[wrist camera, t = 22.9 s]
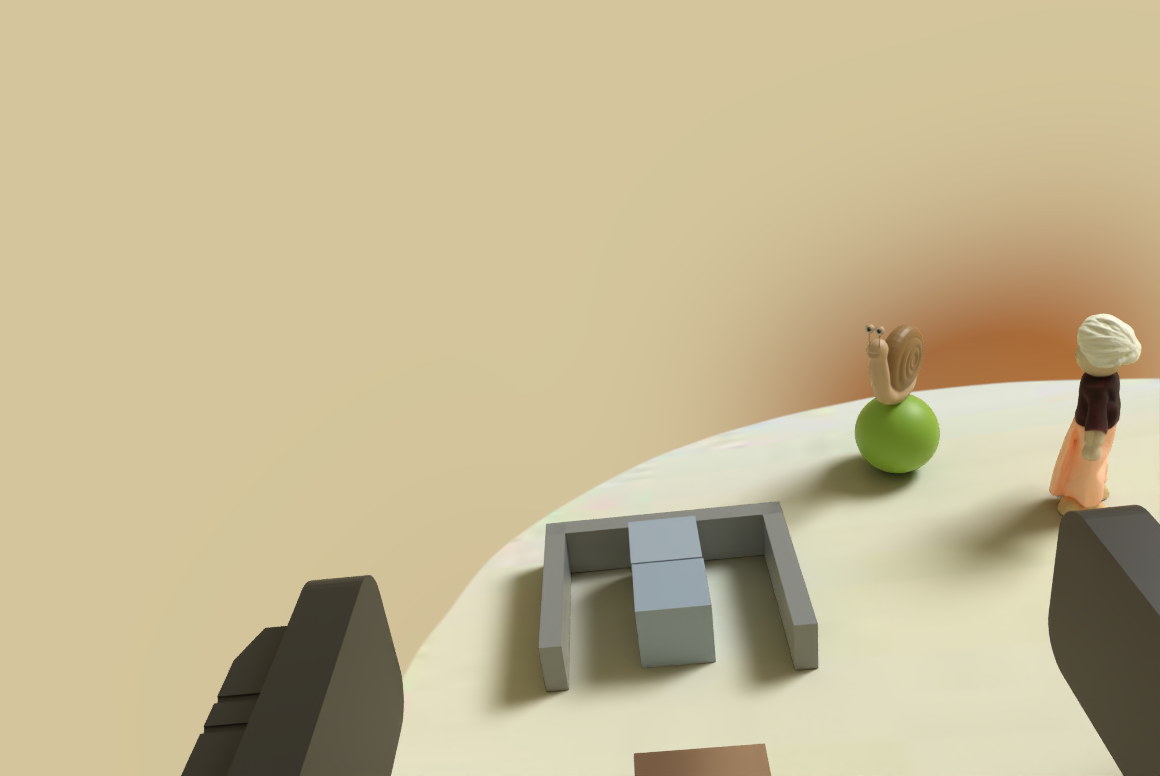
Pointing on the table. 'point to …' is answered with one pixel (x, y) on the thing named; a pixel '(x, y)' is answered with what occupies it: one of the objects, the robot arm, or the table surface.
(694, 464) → the table surface
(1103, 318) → the grandmother figurine
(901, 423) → the snail figurine
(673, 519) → the block
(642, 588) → the block
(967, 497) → the table surface
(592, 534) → the grey u-shaped wall
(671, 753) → the tall wooden pillar
